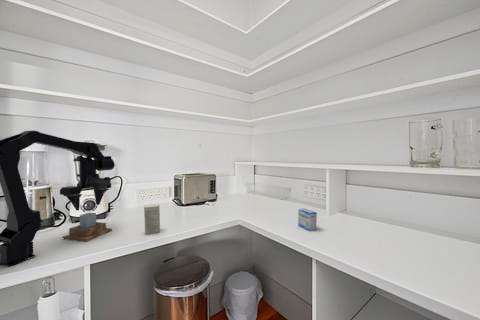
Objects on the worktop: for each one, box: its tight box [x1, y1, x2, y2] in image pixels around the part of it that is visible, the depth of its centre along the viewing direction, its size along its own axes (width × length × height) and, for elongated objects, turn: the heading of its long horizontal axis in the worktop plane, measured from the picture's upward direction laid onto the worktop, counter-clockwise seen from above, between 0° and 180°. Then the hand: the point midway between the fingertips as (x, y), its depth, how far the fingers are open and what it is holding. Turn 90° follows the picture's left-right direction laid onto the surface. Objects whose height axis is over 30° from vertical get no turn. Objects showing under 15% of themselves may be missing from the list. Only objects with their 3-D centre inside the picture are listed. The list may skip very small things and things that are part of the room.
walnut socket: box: [62, 221, 113, 243], centre depth 85 cm, size 12×12×4 cm
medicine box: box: [297, 207, 318, 232], centre depth 95 cm, size 8×4×9 cm, turn 27°
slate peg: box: [79, 212, 97, 229], centre depth 85 cm, size 4×4×8 cm
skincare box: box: [143, 203, 161, 235], centre depth 89 cm, size 6×4×12 cm
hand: (88, 207), depth 85 cm, fingers open, 9 cm apart
